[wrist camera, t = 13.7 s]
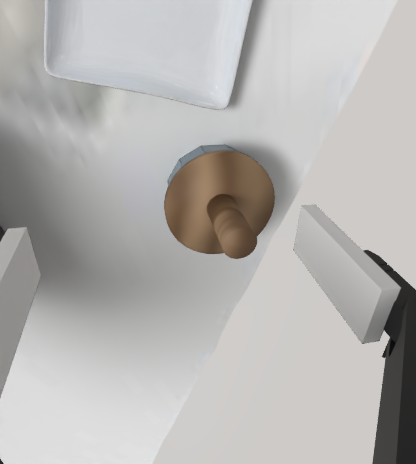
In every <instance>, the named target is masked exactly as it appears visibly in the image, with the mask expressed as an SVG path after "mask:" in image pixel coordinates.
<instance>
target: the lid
mask: <svg viewBox="0 0 416 464" xmlns="http://www.w3.org/2000/svg"><path fill="white" fill-rule="evenodd" d="M274 199H275V196H274V188H273V184H272V181H271V179H270V177H269V175H268V174H267V172H266V171H265V170H264V168H263V167H262V166H261V165H260V164H259V163H258V162H257V161H255V160H254V159H253V158H251V157H250V156H247V155H245V154H243V153H240V152H237V151H231V150H218V151H212V152H207V153H204V154H202V155H199V156H197V157H195V158H193V159H192V160H190V161H189V162H187V163H186V164H185V165H184V166H183V167H181V168H180V169H179V171H178V172H177V173H176V174H175V175H174V177H173V179H172V180H171V182H170V184H169V186H168V188H167V192H166V195H165V201H164V209H165V216H166V220H167V224H168V226H169V228H170V231H171V232H172V234H173V235H174V236H175V238H176V239H177V240H178V241H179V242H180V243H182V244H183V245H184V246H186V247H188V248H190V249H192V250H194V251H197V252H201V253H206V254H220V253H225V254H226V255H227V256H228V257H230V258H234V259H239V258H243V257H246V256H248V255H249V254H251V253H252V252H253V250H254V249H255V247H256V245H257V236H258V235H259V234H260V232H261V231H262V230H263V229H264V227H265V226H266V224H267V223H268V221H269V219H270V217H271V214H272V211H273V207H274Z"/></svg>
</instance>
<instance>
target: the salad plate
mask: <svg viewBox="0 0 416 464" xmlns="http://www.w3.org/2000/svg"><path fill="white" fill-rule="evenodd" d="M252 2H253V0H45V19H44V66H45V70H46V72H47V73H48V74H49V75H51V76H53V77H56V78H61V79H66V80H71V81H76V82H82V83H88V84H94V85H100V86H106V87H112V88H117V89H123V90H128V91H134V92H139V93H144V94H149V95H154V96H159V97H164V98H168V99H172V100H176V101H180V102H184V103H187V104H191V105H195V106H200V107H204V108H210V109H215V110H223V109H225V108H226V107H227V106H228V104H229V101H230V98H231V95H232V91H233V87H234V83H235V79H236V74H237V70H238V65H239V60H240V56H241V51H242V46H243V42H244V37H245V33H246V28H247V23H248V19H249V14H250V10H251V6H252Z"/></svg>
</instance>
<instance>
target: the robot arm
mask: <svg viewBox="0 0 416 464" xmlns="http://www.w3.org/2000/svg"><path fill="white" fill-rule="evenodd" d="M293 250H294V252H295V253H296V254H297V256H298V257H299V258H300V260H301V261H302V262H303V264H304V265H305V267H306V268H307V269H308V271H309V272H310V273H311V275H312V276H313V277H314V279H315V280H316V282H317V283H318V284H319V286H320V287H321V288H322V290H323V291H324V293H325V294H326V295H327V297H328V298H329V299H330V301H331V302H332V303H333V305H334V306H335V307H336V309H337V310H338V312H339V313H340V314H341V316H342V317H343V318H344V320H345V321H346V323H347V324H348V325H349V327H350V328H351V329H352V331H353V332H354V333H355V335H356V336H357V338H358V339H359V340H360V342H361V343H362V344H364V343H369V342H376V341H380V338H381V336H382V333H383V331H384V330H385V332H386V333H387V334H388V335H389V336H390V339H389V341H388V344H387V346H386V348H385V351H384V353H383V356H382V357H384V358H385V357H386V359H385V368H384V376H383V384H382V392H381V401H380V408H379V416H378V424H377V432H376V440H375V448H374V456H373V464H416V290H415V289H414V288H413V287H412V286H411V285H410V284H409V283H408V282H406V281H405V280H404V279H403V278H402V277H401V276H400V275H399V274H398V273H397V272H396V271H393V269H392V268H391V267H390V266H389V265H387V263H386V262H385V261H384V260H383V259H382V258H381V257H379V256H378V255H376V254H374V253H372V252H371V251H369V250H365V251H363V250H362V249H361V248H360V247H358V246H357V245H356V244H355V243H354V242H353V241H352V240H351V239H350V238H349V237H348V236H347V235H346V234H345V233H344V232H343V231H342V230H341V229H340V228H339V227H338V226H337V225H336V224H335V223H334V222H333V221H331V219H330V218H328V217H327V216H326V215H325V214H324V213H323V212H322V211H321V210H320V209H319V208H318V207H317V206H316V205H304V206H301V211H300V217H299V222H298V227H297V233H296V239H295V244H294V249H293ZM40 278H41V274H40V271H39V267H38V264H37V261H36V257H35V254H34V250H33V247H32V244H31V240H30V237H29V233H28V230H27V227H21V228H8V229H7V231H6V233H4V231H3V230H2V228H1V227H0V397H1V394H2V391H3V388H4V385H5V382H6V379H7V376H8V373H9V370H10V367H11V364H12V361H13V358H14V355H15V352H16V349H17V346H18V343H19V340H20V337H21V334H22V331H23V328H24V325H25V322H26V319H27V316H28V313H29V310H30V307H31V304H32V301H33V298H34V295H35V292H36V289H37V287H38V284H39V281H40ZM0 464H3V462H2V461H1V459H0Z"/></svg>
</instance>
